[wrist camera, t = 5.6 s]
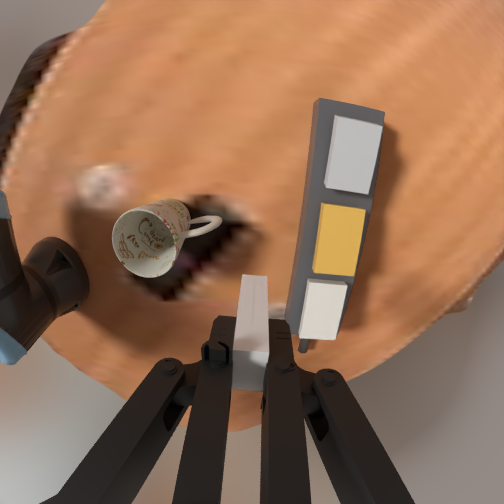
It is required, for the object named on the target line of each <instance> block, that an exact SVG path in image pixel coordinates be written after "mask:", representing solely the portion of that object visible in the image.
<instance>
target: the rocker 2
mask: <svg viewBox="0 0 504 504" xmlns="http://www.w3.org/2000/svg"><path fill="white" fill-rule="evenodd" d="M365 211H366V210H365V209H362V208H356V207H350V206H343V205H336V204H329V203H321V210H320V217H319V225H318V232H317V239H316V246H315V253H314V259H313V266H312V269H313V271H314V273H322V274H333V275H344V276H354V274H355V269H356V264H357V259H358V254H359V248H360V243H361V237H362V231H363V225H364V218H365Z"/></svg>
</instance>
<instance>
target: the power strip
mask: <svg viewBox="0 0 504 504" xmlns="http://www.w3.org/2000/svg"><path fill="white" fill-rule="evenodd" d="M335 115H337V116H342V117H347V118H352V119H357V120H362V121H366V122H370V123H374V124H378V125H380V126H382V127H383V126H384V116H385V112H383V111H379V110H375V109H371V108H367V107H363V106H358V105H354V104H349V103H344V102H339V101H334V100H329V99H323V98H319V99H318V100H316V101H315V102H314V106H313V117H312V127H311V137H310V146H309V155H308V164H307V172H306V180H305V188H304V196H303V203H302V211H301V218H300V225H299V232H298V238H297V245H296V251H295V258H294V264H293V270H292V276H291V282H290V288H289V294H288V300H287V305H286V311H285V320H286V322H287V323H288V324H289V326H290V331H291V334H298V335H299V327H300V322H301V316H302V311H303V305H304V299H305V293H306V287H307V281H308V278H310V279H321V280H332V281H344V282H345V283H346V284H347V290H346V295H345V300H344V305H343V309H342V314H341V318H340V322H339V326H338V330H337V334H336V337H337V335H338V332H339V329H340V326H341V323H342V320H343V316H344V313H345V310H346V307H347V304H348V300H349V297H350V293H351V290H352V286H353V283H354V279H355V276H356V272H357V268H358V264H359V260H360V256H361V252H362V248H363V244H364V240H365V235H366V231H367V226H368V221H369V217H370V212H371V207H372V201H373V196H374V190H375V185H376V179H377V172H378V166H379V159H380V152H381V144H382V135H383V128H382V133H381V138H380V144H379V148H378V153H377V158H376V163H375V167H374V172H373V176H372V180H371V184H370V188H369V192H368V194H363V193H357V192H350V191H344V190H338V189H331V188H326V186H325V184H324V180H325V174H326V168H327V163H328V157H329V150H330V144H331V138H332V131H333V124H334V117H335ZM321 203H329V204H336V205H343V206H350V207H356V208H362V209H365V210H366V211H365V218H364V225H363V231H362V237H361V243H360V248H359V254H358V259H357V264H356V269H355V274H354V276H344V275H333V274H322V273H314V271H313V269H312V266H313V259H314V253H315V246H316V239H317V232H318V225H319V217H320V210H321ZM309 343H310V339H305V338H301V340H300V344H299V348H298V351H299V352H300V353H306V352H307V350H308V346H309Z"/></svg>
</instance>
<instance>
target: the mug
mask: <svg viewBox="0 0 504 504" xmlns="http://www.w3.org/2000/svg"><path fill="white" fill-rule="evenodd" d="M202 222H211V223H210V224H208V225H206V226H203V227H201V228H198V229H193V230H189V228H190V224H194V223H202ZM221 223H222V219H221V218H220V217H219V216H203V217H199V218H195V219H192V220H191V217H190V213H189V211H188V209H187V208H186V206H185V205H184V204H183V203H181V202H180V201H178V200H175V199H164V200H160V201H157V202H153V203H150V204H147V205H144V206H140V207H137V208H134V209H131V210H129V211H127V212H125V213H124V214H123V215H121V216H120V217H119V219H118V220H117V222H116V223H115V225H114V228H113V232H112V243H113V248H114V251H115V253H116V255H117V257H118V259H119V260H120V262H121V263H122V264H123V265H124V266H125V267H126V268H127V269H128V270H129V271H131V272H132V273H134V274H136V275H139V276H142V277H147V278H153V277H158V276H161V275H163V274H165V273H166V272H167V271H169V270H170V269H171V267H172V266H173V265H174V263H175V261H176V259H177V256H178V254H179V252H180V249H181V247H182V244H183V242H184V240H185V238H189V237H194V236H198V235H202V234H205V233H207V232H209V231H212V230H213V229H215V228H217V227H218V226H219V225H220V224H221Z"/></svg>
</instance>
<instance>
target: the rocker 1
mask: <svg viewBox="0 0 504 504" xmlns="http://www.w3.org/2000/svg"><path fill="white" fill-rule="evenodd" d="M382 128H383V127H382V126H380V125H378V124H374V123H370V122H366V121H362V120H357V119H352V118H347V117H342V116H337V115H335V117H334V124H333V131H332V138H331V144H330V150H329V157H328V163H327V168H326V174H325V180H324V184H325V186H326V188H331V189H338V190H344V191H350V192H357V193H363V194H368V192H369V188H370V184H371V180H372V176H373V172H374V167H375V163H376V158H377V153H378V148H379V144H380V138H381V133H382Z"/></svg>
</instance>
